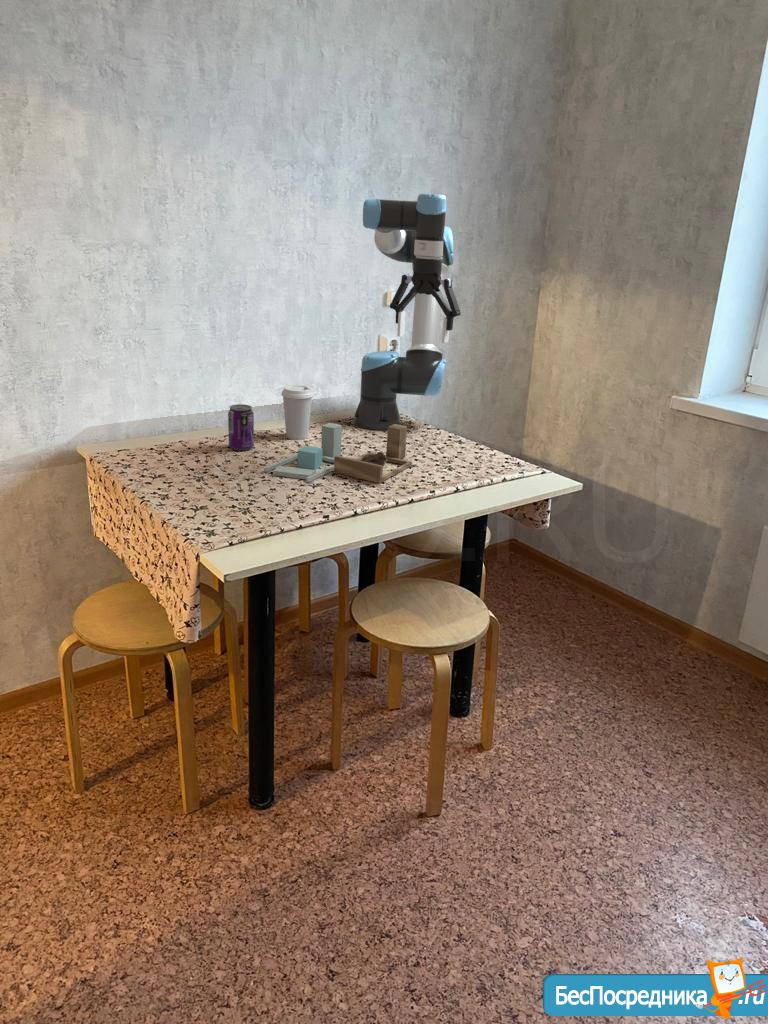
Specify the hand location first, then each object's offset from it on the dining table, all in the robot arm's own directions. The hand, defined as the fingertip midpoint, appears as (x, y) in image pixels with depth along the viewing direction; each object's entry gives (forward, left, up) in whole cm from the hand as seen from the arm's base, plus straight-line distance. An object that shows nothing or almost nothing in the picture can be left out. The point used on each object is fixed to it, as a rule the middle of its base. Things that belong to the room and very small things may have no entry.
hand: (422, 339), depth 210 cm
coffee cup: (+6, -37, -33) cm, 50 cm away
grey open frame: (+26, -18, -33) cm, 46 cm away
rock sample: (+20, -5, -34) cm, 40 cm away
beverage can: (+25, -43, -33) cm, 60 cm away
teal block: (+27, -18, -33) cm, 46 cm away
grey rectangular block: (+35, -18, -33) cm, 51 cm away
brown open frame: (+15, -3, -33) cm, 36 cm away
